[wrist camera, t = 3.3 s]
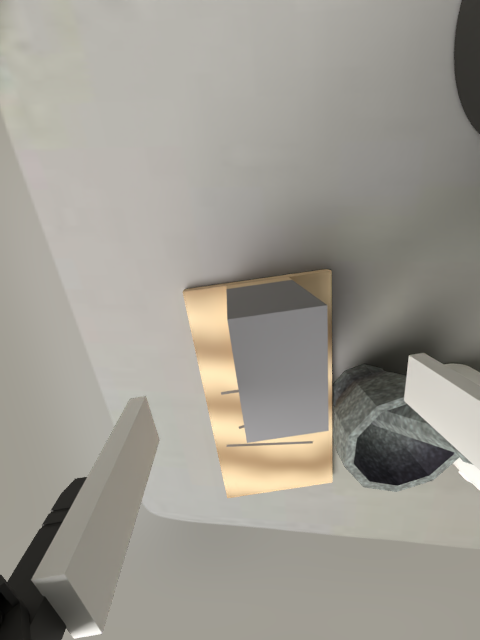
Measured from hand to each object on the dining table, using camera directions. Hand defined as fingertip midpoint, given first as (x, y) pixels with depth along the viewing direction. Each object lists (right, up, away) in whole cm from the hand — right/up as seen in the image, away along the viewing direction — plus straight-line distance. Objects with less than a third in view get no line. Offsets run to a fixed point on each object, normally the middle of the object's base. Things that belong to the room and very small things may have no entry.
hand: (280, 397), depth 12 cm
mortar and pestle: (+10, -3, +13) cm, 17 cm away
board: (+1, -4, +12) cm, 13 cm away
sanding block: (0, +3, +9) cm, 9 cm away
